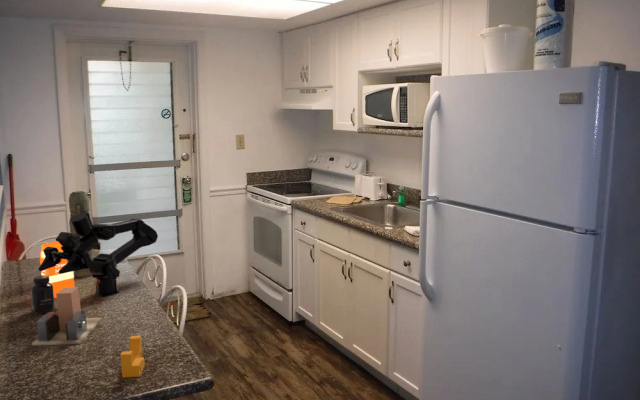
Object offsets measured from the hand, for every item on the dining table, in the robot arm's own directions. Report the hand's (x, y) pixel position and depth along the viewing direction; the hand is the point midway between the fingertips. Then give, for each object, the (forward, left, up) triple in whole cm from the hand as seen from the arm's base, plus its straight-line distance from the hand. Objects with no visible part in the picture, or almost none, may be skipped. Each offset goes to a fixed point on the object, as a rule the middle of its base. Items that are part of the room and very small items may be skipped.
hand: (49, 271), depth 185 cm
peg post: (+1, +16, -15) cm, 22 cm away
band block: (+5, +21, -15) cm, 26 cm away
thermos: (-29, -39, -16) cm, 51 cm away
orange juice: (-11, -22, -16) cm, 29 cm away
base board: (+2, +17, -16) cm, 23 cm away
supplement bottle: (0, -8, -16) cm, 18 cm away
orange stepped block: (+1, +56, -16) cm, 58 cm away
